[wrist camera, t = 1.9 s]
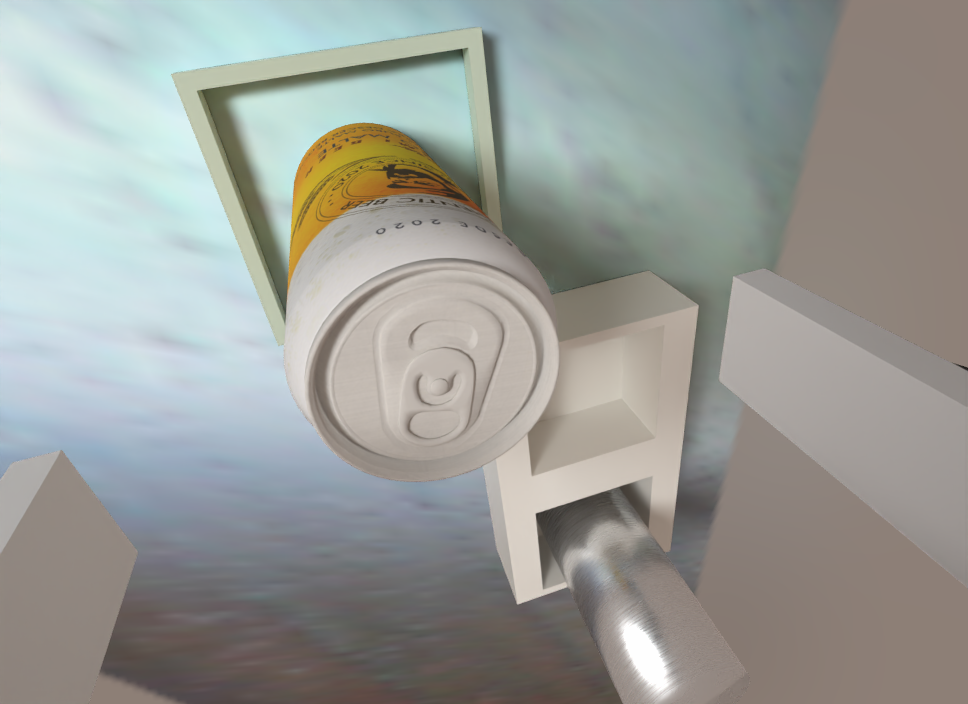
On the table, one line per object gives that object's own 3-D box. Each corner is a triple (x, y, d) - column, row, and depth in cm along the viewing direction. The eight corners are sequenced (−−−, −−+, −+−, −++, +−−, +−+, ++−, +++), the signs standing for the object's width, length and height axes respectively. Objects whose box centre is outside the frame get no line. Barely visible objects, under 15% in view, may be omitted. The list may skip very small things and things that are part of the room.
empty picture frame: (176, 72, 19) (170, 74, 18) (474, 27, 21) (481, 27, 20) (279, 335, 25) (278, 345, 24) (502, 281, 27) (508, 290, 26)
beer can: (443, 128, 23) (608, 248, 10) (429, 263, 26) (547, 482, 13) (291, 111, 21) (273, 233, 8) (296, 259, 24) (288, 509, 11)
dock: (457, 317, 27) (481, 362, 24) (649, 270, 29) (698, 305, 26) (496, 548, 38) (517, 604, 34) (636, 502, 40) (670, 550, 36)
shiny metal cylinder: (526, 472, 34) (640, 699, 22) (609, 446, 35) (759, 652, 23) (532, 530, 37) (635, 756, 26) (608, 506, 38) (740, 712, 27)
